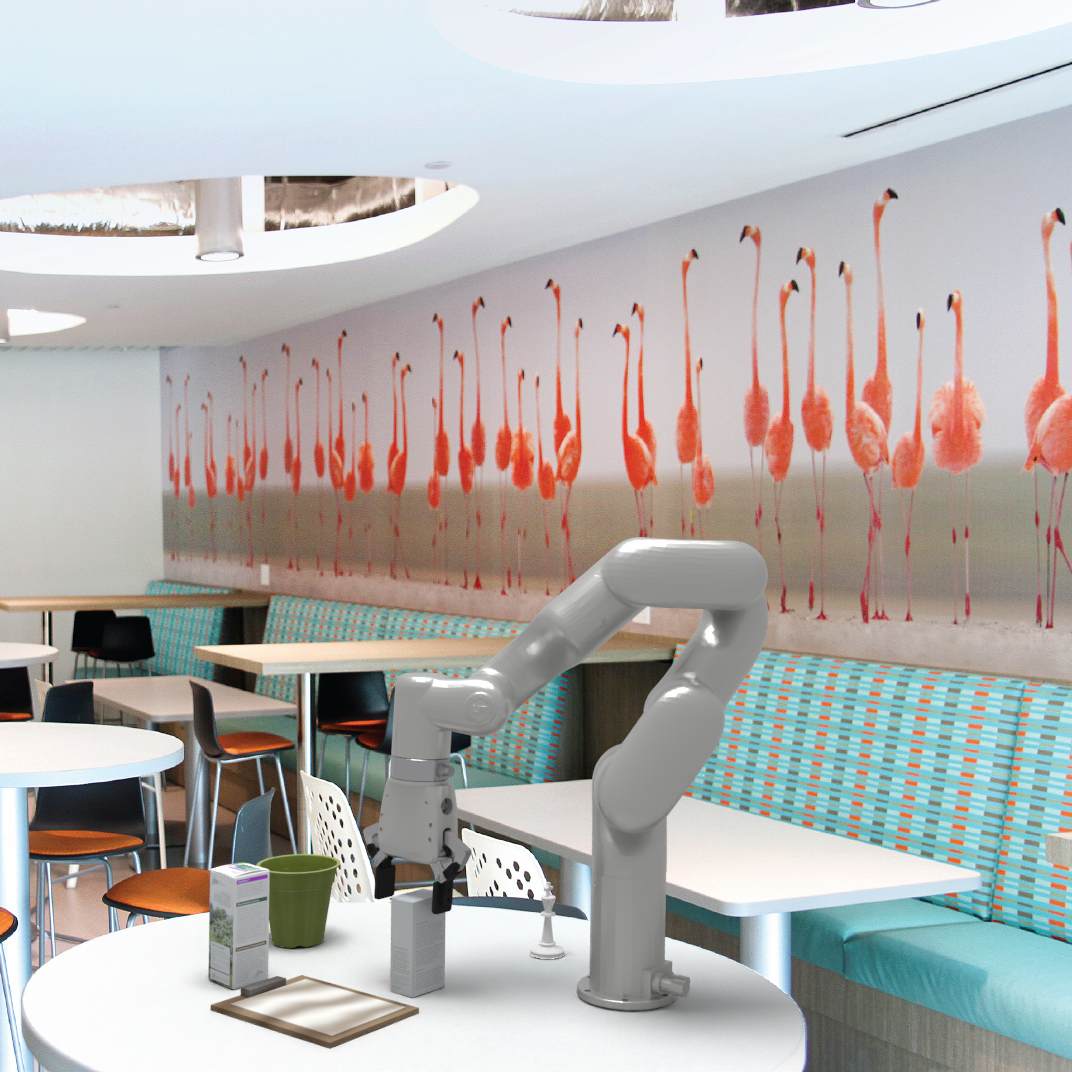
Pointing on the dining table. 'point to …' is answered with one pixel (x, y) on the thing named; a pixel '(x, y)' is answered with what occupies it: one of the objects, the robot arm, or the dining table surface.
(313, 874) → the plant pot
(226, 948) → the syrup box
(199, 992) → the dining table surface
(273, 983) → the clipboard
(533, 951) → the chess piece
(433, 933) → the skincare box
